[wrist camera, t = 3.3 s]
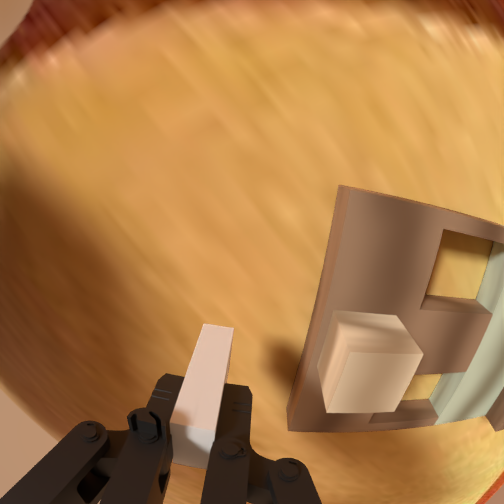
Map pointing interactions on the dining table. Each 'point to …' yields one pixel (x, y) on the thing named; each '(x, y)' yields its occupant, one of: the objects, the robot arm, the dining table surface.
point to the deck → (407, 312)
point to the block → (366, 362)
